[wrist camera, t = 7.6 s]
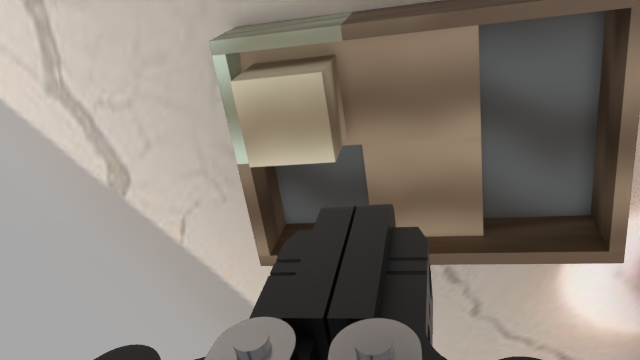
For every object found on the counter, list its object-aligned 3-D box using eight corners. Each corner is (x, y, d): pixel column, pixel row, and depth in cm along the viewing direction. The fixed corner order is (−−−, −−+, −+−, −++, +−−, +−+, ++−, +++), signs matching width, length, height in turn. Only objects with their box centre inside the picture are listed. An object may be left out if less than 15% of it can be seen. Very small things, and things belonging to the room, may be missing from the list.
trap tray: (236, 27, 33) (208, 41, 29) (622, -23, 28) (652, -13, 24) (279, 231, 39) (260, 265, 35) (602, 223, 34) (623, 263, 30)
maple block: (253, 63, 31) (230, 81, 28) (335, 54, 30) (321, 72, 27) (269, 141, 33) (249, 167, 30) (346, 135, 32) (335, 162, 29)
